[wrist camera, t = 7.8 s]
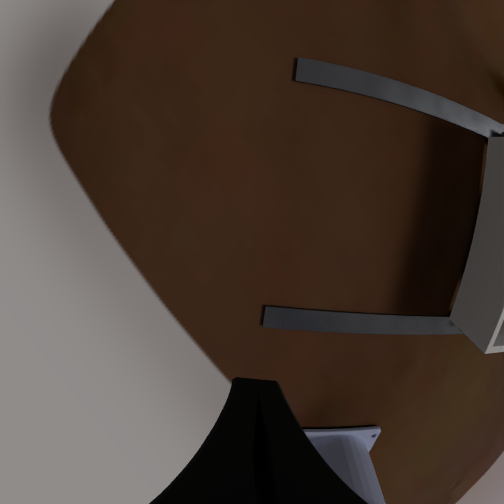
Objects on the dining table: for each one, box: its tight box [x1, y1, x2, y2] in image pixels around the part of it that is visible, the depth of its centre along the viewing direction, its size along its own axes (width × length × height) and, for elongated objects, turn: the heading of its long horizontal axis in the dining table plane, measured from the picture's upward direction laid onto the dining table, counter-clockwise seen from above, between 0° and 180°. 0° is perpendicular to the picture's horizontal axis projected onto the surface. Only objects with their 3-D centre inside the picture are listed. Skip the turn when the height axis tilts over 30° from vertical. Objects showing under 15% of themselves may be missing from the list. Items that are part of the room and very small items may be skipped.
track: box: [263, 57, 504, 334], centre depth 18 cm, size 16×28×1 cm, turn 83°
